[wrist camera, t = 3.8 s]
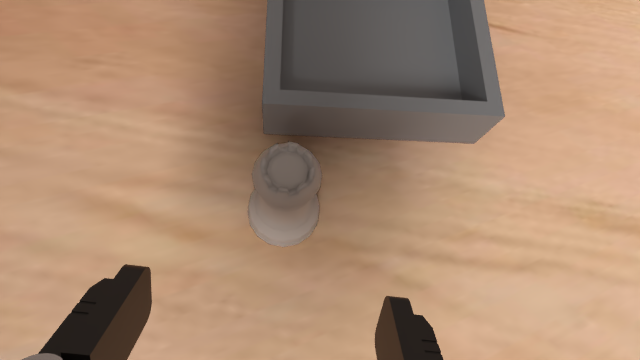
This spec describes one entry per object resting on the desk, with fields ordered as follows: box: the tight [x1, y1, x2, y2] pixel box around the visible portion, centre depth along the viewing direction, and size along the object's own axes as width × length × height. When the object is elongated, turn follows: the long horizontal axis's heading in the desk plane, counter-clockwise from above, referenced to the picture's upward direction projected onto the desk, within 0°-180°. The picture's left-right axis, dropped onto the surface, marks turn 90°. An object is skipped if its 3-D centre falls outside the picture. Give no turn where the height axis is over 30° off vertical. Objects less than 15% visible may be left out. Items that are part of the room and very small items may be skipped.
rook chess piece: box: [248, 141, 322, 247], centre depth 21 cm, size 4×4×8 cm
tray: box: [262, 0, 505, 144], centre depth 28 cm, size 15×15×4 cm
